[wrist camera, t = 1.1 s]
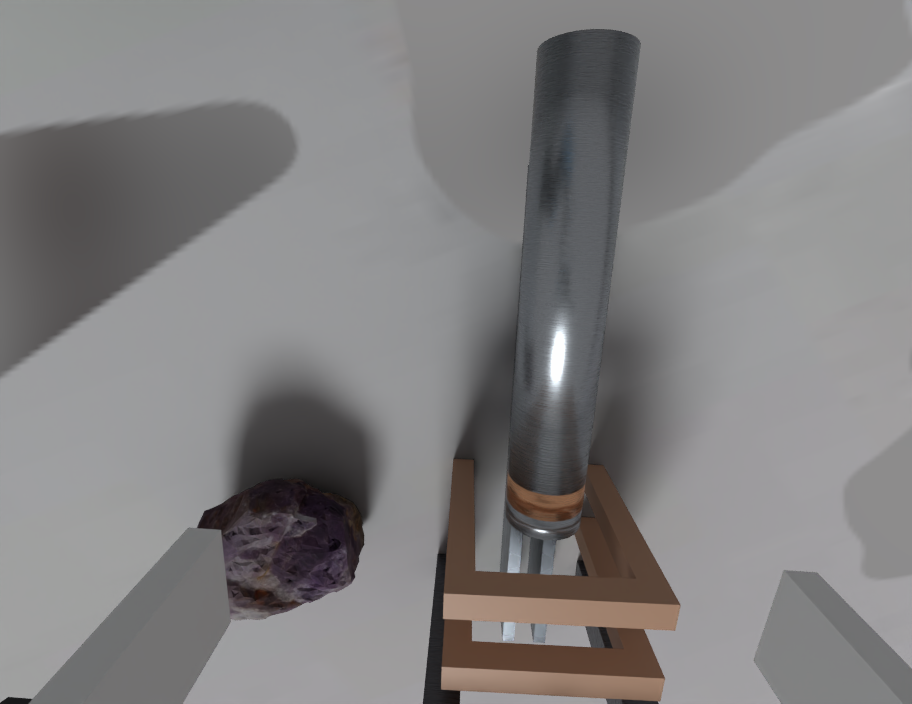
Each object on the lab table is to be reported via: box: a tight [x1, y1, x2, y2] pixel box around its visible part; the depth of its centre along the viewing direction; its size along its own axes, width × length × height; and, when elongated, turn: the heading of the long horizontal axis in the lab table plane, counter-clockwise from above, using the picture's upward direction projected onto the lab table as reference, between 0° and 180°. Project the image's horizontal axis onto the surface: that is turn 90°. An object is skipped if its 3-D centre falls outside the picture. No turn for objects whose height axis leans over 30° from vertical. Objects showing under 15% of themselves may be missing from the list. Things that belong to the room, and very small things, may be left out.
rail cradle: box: [500, 165, 556, 643], centre depth 29 cm, size 32×3×4 cm, turn 178°
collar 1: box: [443, 459, 680, 631], centre depth 27 cm, size 2×11×12 cm, turn 88°
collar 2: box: [441, 517, 665, 701], centre depth 28 cm, size 2×11×12 cm, turn 88°
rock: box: [197, 478, 364, 620], centre depth 31 cm, size 12×9×10 cm
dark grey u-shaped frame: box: [423, 554, 658, 704], centre depth 28 cm, size 2×13×15 cm, turn 88°
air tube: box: [505, 29, 641, 540], centre depth 23 cm, size 24×4×4 cm, turn 178°
